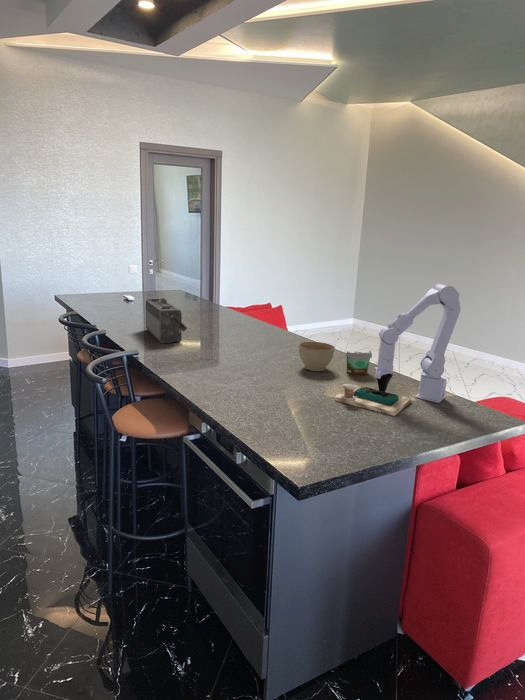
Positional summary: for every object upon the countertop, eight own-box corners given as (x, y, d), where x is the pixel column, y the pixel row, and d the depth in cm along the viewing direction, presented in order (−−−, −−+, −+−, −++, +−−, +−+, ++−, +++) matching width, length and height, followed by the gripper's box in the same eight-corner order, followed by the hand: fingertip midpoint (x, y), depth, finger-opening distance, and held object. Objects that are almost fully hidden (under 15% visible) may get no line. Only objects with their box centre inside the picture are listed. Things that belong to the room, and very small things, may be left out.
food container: (349, 377, 209) (351, 354, 207) (343, 372, 215) (345, 351, 212) (375, 376, 213) (377, 354, 210) (368, 371, 218) (370, 350, 216)
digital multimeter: (363, 392, 192) (364, 385, 191) (398, 401, 183) (399, 394, 182) (354, 396, 186) (355, 389, 185) (391, 406, 177) (391, 399, 177)
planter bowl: (331, 375, 210) (333, 351, 207) (295, 371, 213) (296, 348, 210) (334, 365, 225) (335, 343, 223) (299, 362, 228) (301, 340, 226)
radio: (145, 329, 281) (144, 295, 276) (169, 328, 287) (169, 295, 282) (160, 344, 248) (160, 306, 243) (187, 343, 254) (187, 305, 249)
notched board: (410, 402, 182) (412, 386, 180) (393, 416, 167) (396, 399, 165) (354, 388, 194) (355, 373, 193) (334, 400, 179) (335, 384, 178)
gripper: (382, 352, 192) (379, 385, 196) (368, 359, 181) (365, 394, 184) (400, 356, 188) (396, 388, 192) (386, 363, 177) (382, 398, 180)
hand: (382, 391), depth 188 cm, fingers closed
